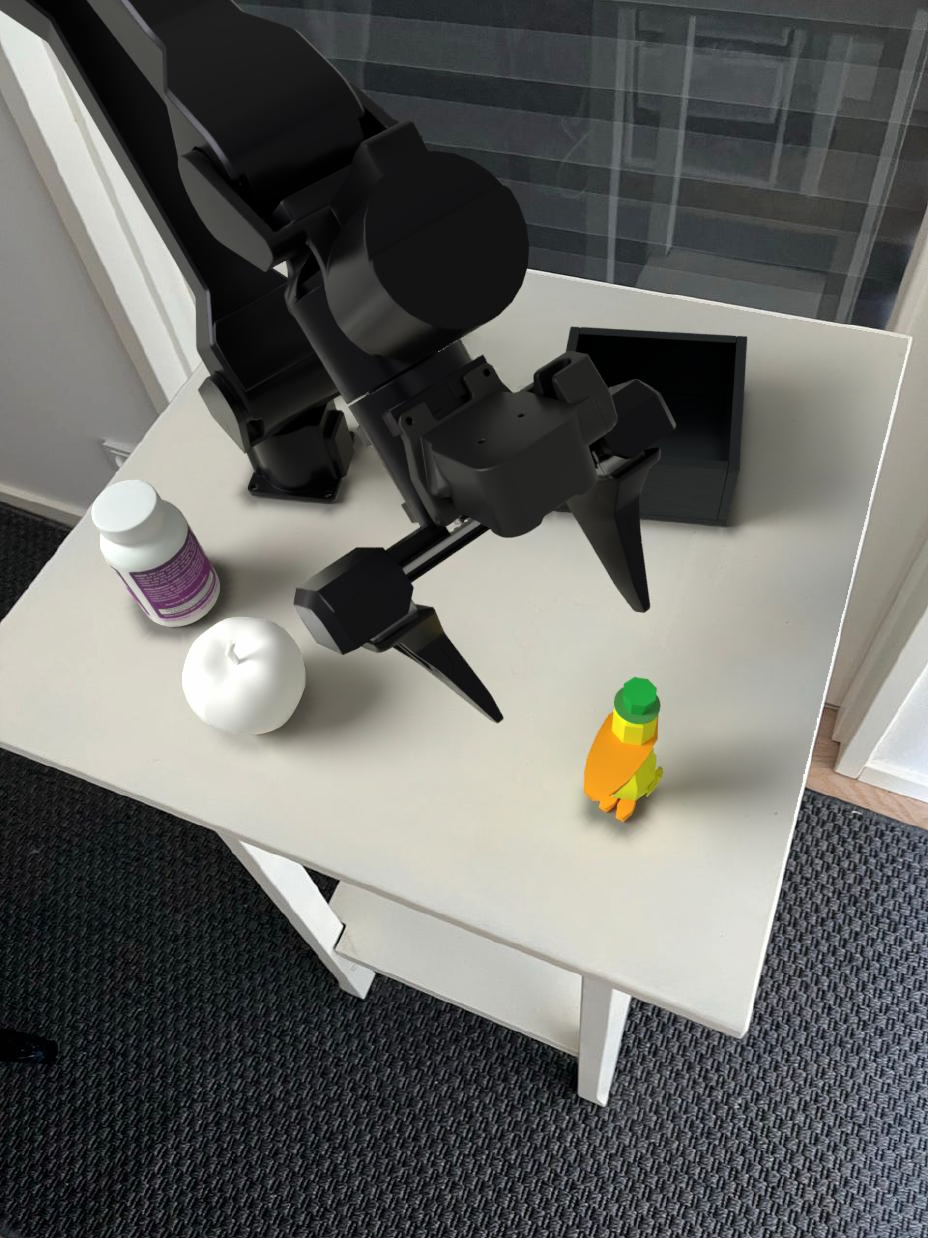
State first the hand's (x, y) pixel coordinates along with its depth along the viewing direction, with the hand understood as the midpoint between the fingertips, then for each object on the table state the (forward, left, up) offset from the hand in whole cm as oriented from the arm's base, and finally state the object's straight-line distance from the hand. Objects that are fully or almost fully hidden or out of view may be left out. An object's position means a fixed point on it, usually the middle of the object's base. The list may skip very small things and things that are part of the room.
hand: (572, 664), depth 45 cm
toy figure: (+3, -3, -11) cm, 11 cm away
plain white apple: (-19, 0, -11) cm, 22 cm away
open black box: (+2, +23, -11) cm, 26 cm away
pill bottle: (-27, +7, -11) cm, 30 cm away
